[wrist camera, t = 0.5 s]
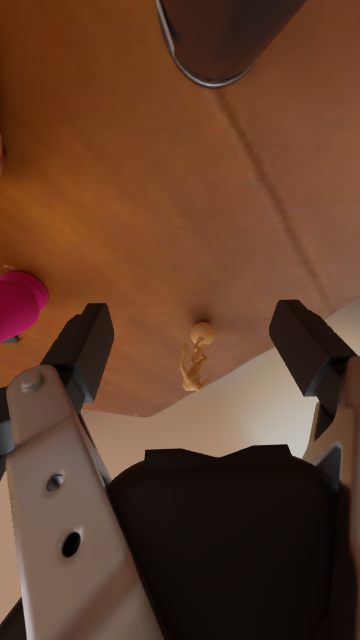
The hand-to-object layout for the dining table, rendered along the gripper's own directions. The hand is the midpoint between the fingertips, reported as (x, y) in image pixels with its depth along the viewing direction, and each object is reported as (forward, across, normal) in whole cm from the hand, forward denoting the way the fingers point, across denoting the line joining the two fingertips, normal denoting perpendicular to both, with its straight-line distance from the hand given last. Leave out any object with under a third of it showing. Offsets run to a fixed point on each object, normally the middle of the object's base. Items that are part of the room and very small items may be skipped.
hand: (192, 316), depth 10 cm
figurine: (+20, -3, +17) cm, 26 cm away
